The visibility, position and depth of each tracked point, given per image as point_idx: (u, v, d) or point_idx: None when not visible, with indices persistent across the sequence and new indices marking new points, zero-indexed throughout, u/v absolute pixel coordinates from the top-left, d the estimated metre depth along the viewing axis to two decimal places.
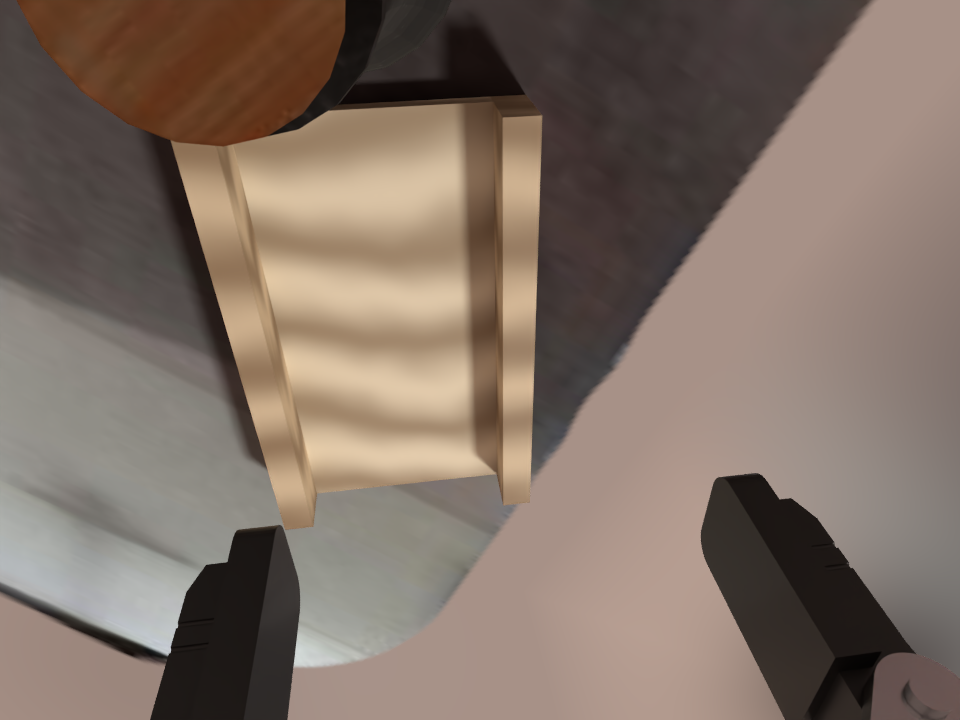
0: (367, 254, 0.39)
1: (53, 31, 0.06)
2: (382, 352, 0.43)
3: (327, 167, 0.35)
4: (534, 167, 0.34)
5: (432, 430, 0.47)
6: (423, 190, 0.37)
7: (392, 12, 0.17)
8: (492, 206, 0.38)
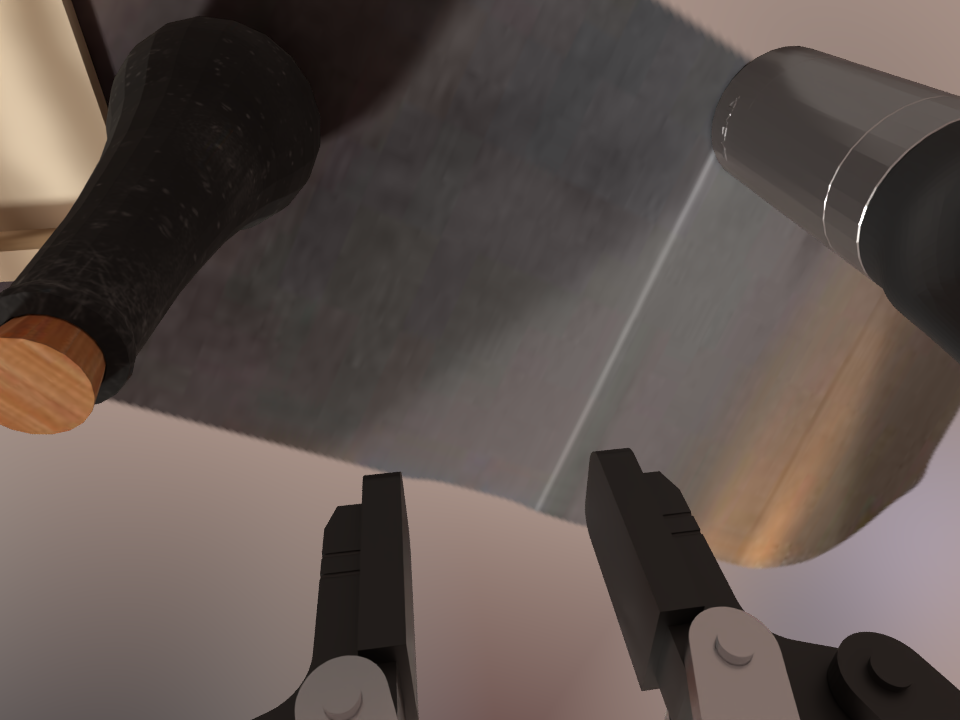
0: None
1: None
2: None
3: (32, 74, 0.37)
4: None
5: None
6: (39, 165, 0.40)
7: None
8: (44, 227, 0.42)
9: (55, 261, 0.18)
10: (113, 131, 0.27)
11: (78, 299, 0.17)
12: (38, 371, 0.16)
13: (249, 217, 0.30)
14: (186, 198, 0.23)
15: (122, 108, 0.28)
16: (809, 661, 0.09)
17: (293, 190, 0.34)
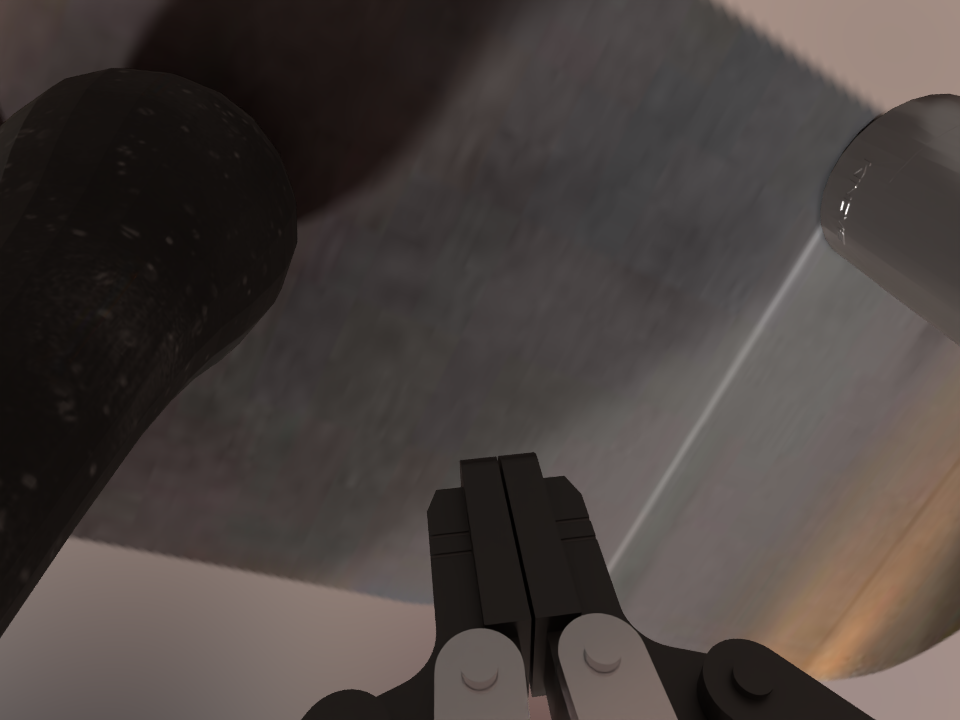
0: None
1: None
2: None
3: None
4: None
5: None
6: None
7: None
8: None
9: None
10: None
11: None
12: None
13: (174, 396, 0.19)
14: (10, 459, 0.12)
15: None
16: (682, 668, 0.09)
17: (254, 322, 0.23)
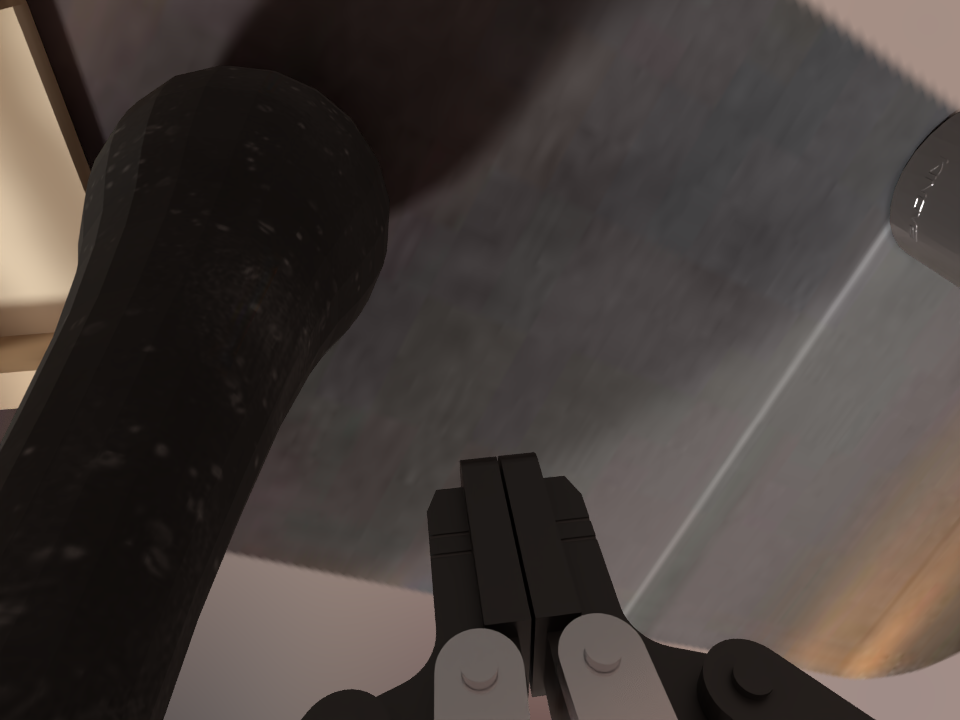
0: None
1: None
2: None
3: None
4: None
5: None
6: (1, 257, 0.29)
7: None
8: (11, 334, 0.31)
9: None
10: (79, 280, 0.16)
11: None
12: None
13: None
14: (201, 450, 0.12)
15: (97, 232, 0.17)
16: (683, 668, 0.09)
17: (355, 318, 0.23)
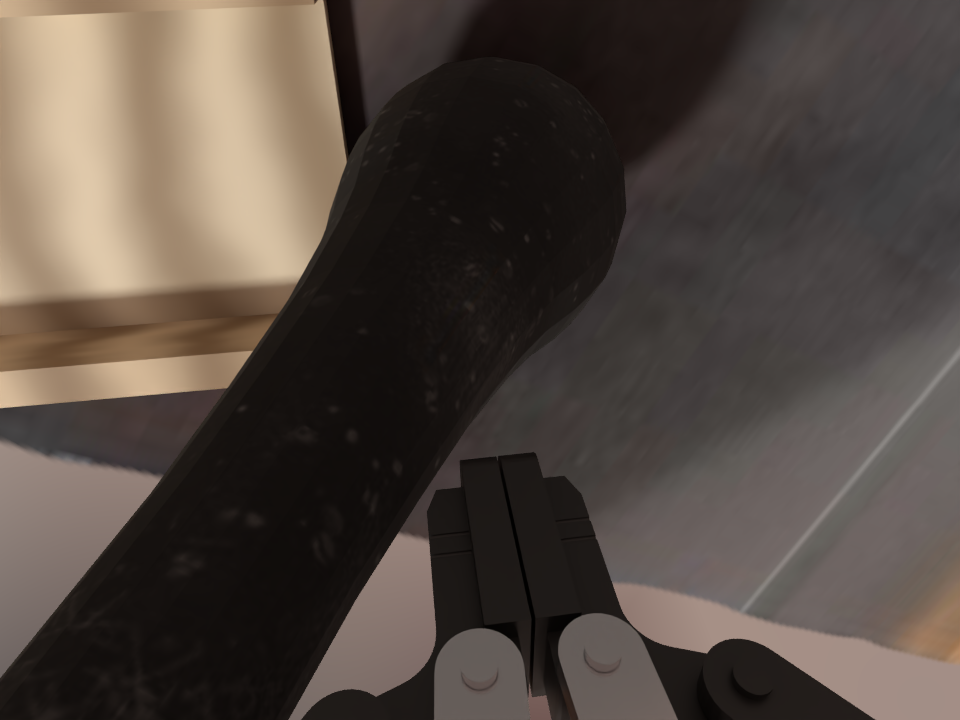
0: (150, 167, 0.28)
1: None
2: None
3: (270, 123, 0.27)
4: None
5: None
6: (257, 238, 0.30)
7: None
8: (249, 313, 0.33)
9: (39, 716, 0.08)
10: (320, 250, 0.17)
11: None
12: None
13: None
14: (387, 443, 0.12)
15: (345, 207, 0.18)
16: (682, 668, 0.09)
17: (565, 327, 0.23)
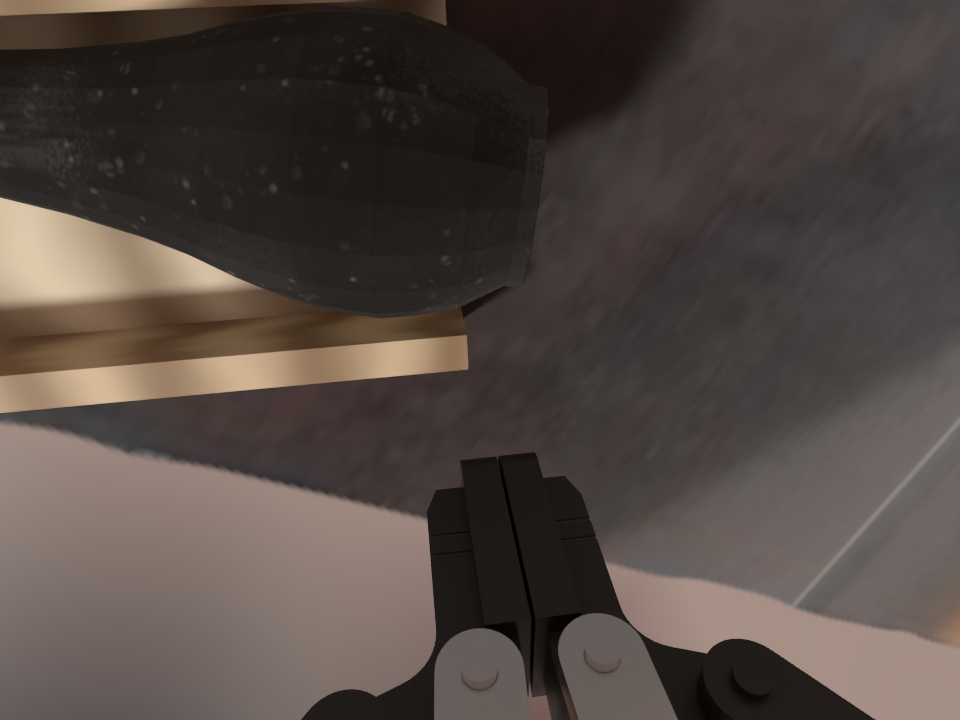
0: None
1: None
2: None
3: None
4: (414, 368, 0.31)
5: None
6: None
7: None
8: None
9: None
10: None
11: None
12: None
13: (96, 211, 0.22)
14: None
15: None
16: (682, 668, 0.09)
17: (233, 257, 0.21)
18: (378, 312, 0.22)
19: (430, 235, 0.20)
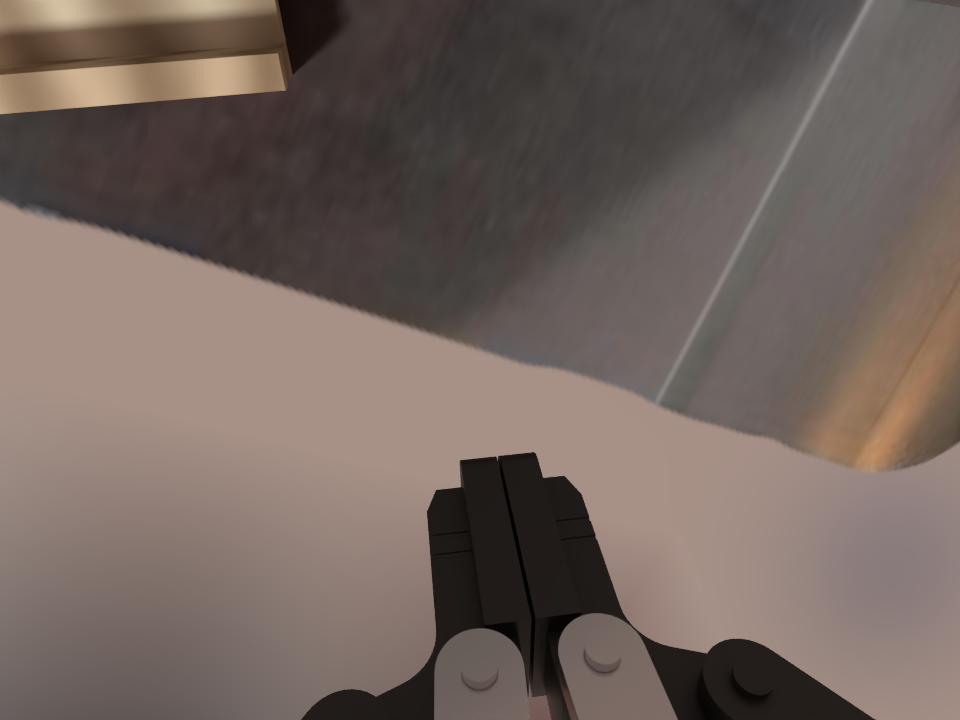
0: None
1: None
2: None
3: None
4: (238, 88, 0.37)
5: None
6: None
7: None
8: (184, 49, 0.39)
9: None
10: None
11: None
12: None
13: None
14: None
15: None
16: (682, 668, 0.09)
17: None
18: None
19: None
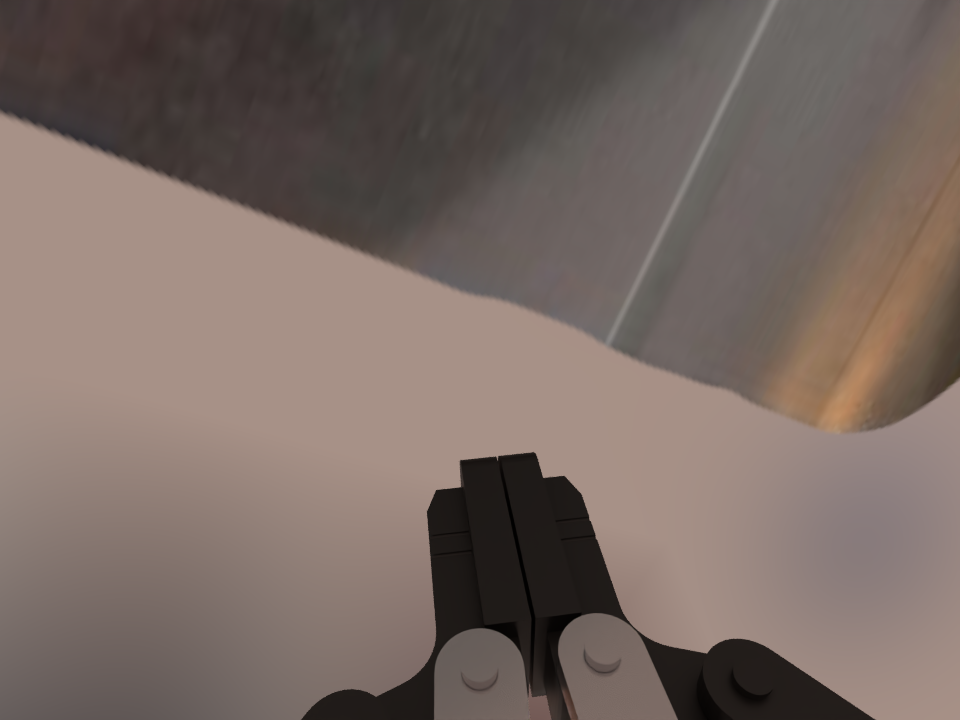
0: None
1: None
2: None
3: None
4: None
5: None
6: None
7: None
8: None
9: None
10: None
11: None
12: None
13: None
14: None
15: None
16: (682, 668, 0.09)
17: None
18: None
19: None
